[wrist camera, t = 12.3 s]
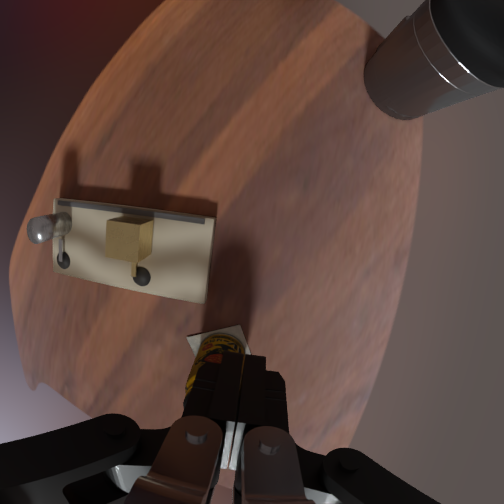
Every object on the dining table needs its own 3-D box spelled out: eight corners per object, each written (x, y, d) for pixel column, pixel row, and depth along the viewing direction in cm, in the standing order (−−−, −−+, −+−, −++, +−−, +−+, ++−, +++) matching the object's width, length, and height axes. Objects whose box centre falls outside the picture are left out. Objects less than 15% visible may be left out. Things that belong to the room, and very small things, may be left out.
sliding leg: (122, 215, 33) (106, 220, 29) (153, 219, 33) (140, 225, 29) (120, 272, 35) (105, 283, 31) (149, 278, 35) (136, 290, 31)
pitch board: (60, 198, 35) (52, 199, 33) (216, 217, 34) (213, 219, 33) (59, 268, 37) (52, 272, 35) (206, 299, 37) (203, 305, 35)
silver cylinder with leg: (55, 210, 33) (26, 216, 28) (72, 212, 33) (44, 219, 28) (55, 258, 35) (28, 270, 29) (72, 262, 35) (45, 275, 29)
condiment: (239, 323, 37) (229, 381, 26) (259, 376, 39) (257, 439, 27) (186, 336, 38) (159, 392, 26) (209, 386, 40) (193, 447, 28)
